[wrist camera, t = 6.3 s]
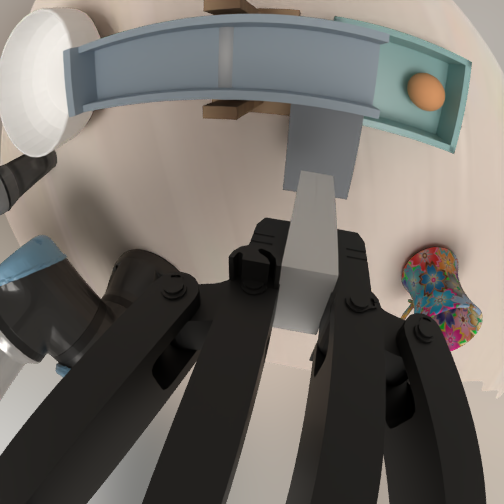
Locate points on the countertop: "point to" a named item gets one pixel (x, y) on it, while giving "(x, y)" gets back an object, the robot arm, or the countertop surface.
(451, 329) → the mug
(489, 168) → the countertop surface
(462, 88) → the tray
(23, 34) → the bowl
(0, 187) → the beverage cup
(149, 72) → the blue-grey ramp
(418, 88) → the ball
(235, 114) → the fulcrum
